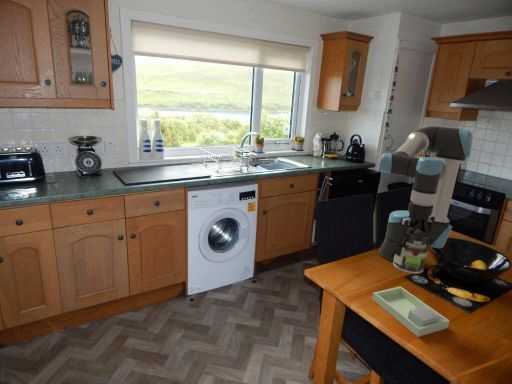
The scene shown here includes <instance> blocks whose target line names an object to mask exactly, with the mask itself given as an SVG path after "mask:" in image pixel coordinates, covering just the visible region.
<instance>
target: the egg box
mask: <svg viewBox="0 0 512 384" xmlns="http://www.w3.org/2000/svg"><path fill="white" fill-rule="evenodd" d="M429 307H430V306H429ZM429 307H427V306H423V307H419V308H415V309H412V310H409V314H408V319H409V320H411V321H412V322H413V323H414V324H416V325H417V326H418V327H419V328H420V327H423V326H426V325H430V324H433V323H437V322H439V320H440V315H438V314H437V313H436V312H437V311H436V312H434V311H433V310H434V309H433V310H431V309H430V308H429Z"/></svg>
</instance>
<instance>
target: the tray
mask: <svg viewBox="0 0 512 384" xmlns="http://www.w3.org/2000/svg"><path fill="white" fill-rule="evenodd" d="M371 300H372V301H373V302H375V303H376V304H377V305H378V306H380V307H381V308H382V309H383V310H384V311H385V312H387V313H388V314H389V315H391V317H393V318H394V319H395V320H396V321H398V322H399V323H400V324H401V325H402V326H404V327H405V328H406V329H408V330H409V332H411V333H412V334H413V335H415V336H416V338H419V337H423V336H425V335H426V336H427V335H429V334H432V333H435V332H439V331H442V330H445V329H448V327H449V323H450V320H449V319H448V318H446V317H445V316H444V315H442V314H441V313H439V312H438V311H436V310H435V309H433V308H432V307H431V306H430V305H427V304H426V303H425V302H423V301H422V300H421V299H419V298H418V297H416V296H415V295H413V294H412V293H410V292H409V291H408V290H406V289H405V288H403V286H397V287H391V288H387V289H384V290H379V291H374V292H373V293H372V298H371ZM423 306H427V307H429V308H430V309H431V310H433V311H434V312H436V313H437V314H438V315H440V320H439V322H437V323H433V324H430V325H426V326H423V327H420V328H419V327H418V326H417V325H416V324H414V323H413V322H412V321H411V320H409V319H408V314H409V310H412V309H415V308H419V307H423Z"/></svg>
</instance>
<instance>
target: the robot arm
mask: <svg viewBox="0 0 512 384" xmlns="http://www.w3.org/2000/svg"><path fill="white" fill-rule="evenodd" d="M472 144H473V133H472V131H471V130H469V129H463V128H457V127H456V128H455V127H444V126H435V125H434V126H432V125H431V126H426V127H421V128H419V129H416V130H414V131H412V132H411V133H410V134H409V135H408V136H407V137H406V140H405V142H404V143H402V145H401V146H399V148H398V149H397V150H396V151H395V152H394V153H390V152H389V153H387V152H385V153H383V154H382V155H381V157H380V159H379V163H378V165H379V166H378V168H379V171H380V172H381V173H385V174H388V175H394V176H400V177H406V178H410V179H413V183H412V184H413V185H412V188H411V189H412V190H411V193H410V201H409V203H408V208H407V210H395V211H392V212H390V213H389V215H388V216H389V218H388V221H387V226H386V232H385V237H384V240H383V241H382V243H381V245H380V246H379V248H378V249H379V250H378V254H379V255H380V257H382V258H383V259H385V260H386V261H387V260H388V261H390V262H393V261H394V262H396V263H397V264H399V265H402V260H403V256H404V251H405V248H404V245H405V244H406V241H407V237H408V236H405V233H406V232H407V233H409V234H412V233H413V232H415V230H416V229H420V230H422V231H424V232H427V230H428V231H429V232H431V234H432V236H431V238H430V243H429V247H430V248H435V249H442V248H444V246H445V245H446V242H447V240H448V238H449V236H450V234H451V231H452V228H453V226H452V225H451V224H450V219H449V218H448V213H449V208H450V205H451V200H452V197H453V193H454V189H455V184H456V181H457V177H458V173H459V169H460V165H462V164H463V163H464V162H465V160H466V159H467V158H469V159H470V156H471V152H472V146H473V145H472ZM424 152H428V153H433V154H435V156H434V157H431V156H430V157H429V156H421V157H418V156H419V155H420V154H421V153H424ZM409 226H410V227H411V228H410V227H409ZM395 254H396V255H395ZM394 257H395V260H394Z"/></svg>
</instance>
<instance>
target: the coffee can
mask: <svg viewBox="0 0 512 384" xmlns="http://www.w3.org/2000/svg"><path fill="white" fill-rule="evenodd" d="M409 227H410V226H409ZM410 228H411V227H410ZM405 236H408V237H407V241H406V244H405V245H404V248H405V251H404V256H403V260H402V265H399V264H397V263H396V262H394V261H392V265H393V266H394V267H395V268H396V269H398V270H400V271H402V272H405V273H408V274H413V275H416V274H422V273H423V272H424V267H425V264H426V263H425V262H426V259H427V255H428V249H429V247H430V246H429V243H430V238H431V236H432V234H431V232H429V231H428V230H427V232H424V231H422V230H420V229H416V230H415V232H413V233H412V234H409V233H407V232H406V233H405ZM395 255H396V254H395ZM394 260H395V257H394Z"/></svg>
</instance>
